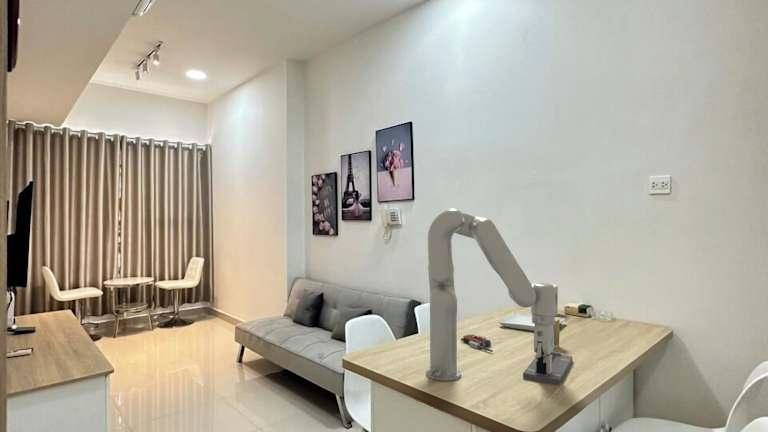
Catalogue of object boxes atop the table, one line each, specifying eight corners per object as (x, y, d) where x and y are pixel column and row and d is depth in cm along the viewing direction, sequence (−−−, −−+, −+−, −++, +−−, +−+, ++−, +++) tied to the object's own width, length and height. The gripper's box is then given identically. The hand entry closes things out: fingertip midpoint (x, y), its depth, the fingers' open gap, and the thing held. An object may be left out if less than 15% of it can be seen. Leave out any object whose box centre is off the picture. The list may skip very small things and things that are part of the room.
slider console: (559, 386, 137) (559, 377, 137) (523, 378, 143) (523, 369, 143) (572, 361, 160) (572, 353, 160) (540, 356, 167) (540, 348, 167)
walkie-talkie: (457, 343, 186) (490, 355, 169) (457, 333, 186) (490, 344, 169) (471, 339, 191) (504, 351, 174) (470, 330, 191) (504, 341, 174)
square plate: (515, 317, 234) (515, 311, 234) (566, 325, 218) (566, 317, 218) (498, 328, 212) (498, 320, 212) (553, 336, 196) (553, 328, 196)
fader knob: (550, 374, 141) (550, 356, 141) (535, 371, 144) (534, 354, 144) (551, 371, 143) (551, 354, 143) (536, 368, 146) (536, 351, 146)
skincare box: (541, 346, 180) (541, 318, 180) (545, 343, 184) (545, 316, 184) (556, 349, 176) (556, 320, 176) (560, 346, 179) (559, 318, 179)
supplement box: (555, 318, 231) (554, 287, 231) (530, 315, 238) (530, 285, 238) (558, 313, 242) (558, 284, 243) (535, 311, 249) (534, 282, 249)
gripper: (549, 325, 134) (549, 381, 134) (559, 315, 148) (559, 366, 148) (525, 322, 138) (525, 376, 138) (538, 313, 152) (537, 362, 152)
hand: (543, 370), depth 143 cm, fingers open, 4 cm apart
